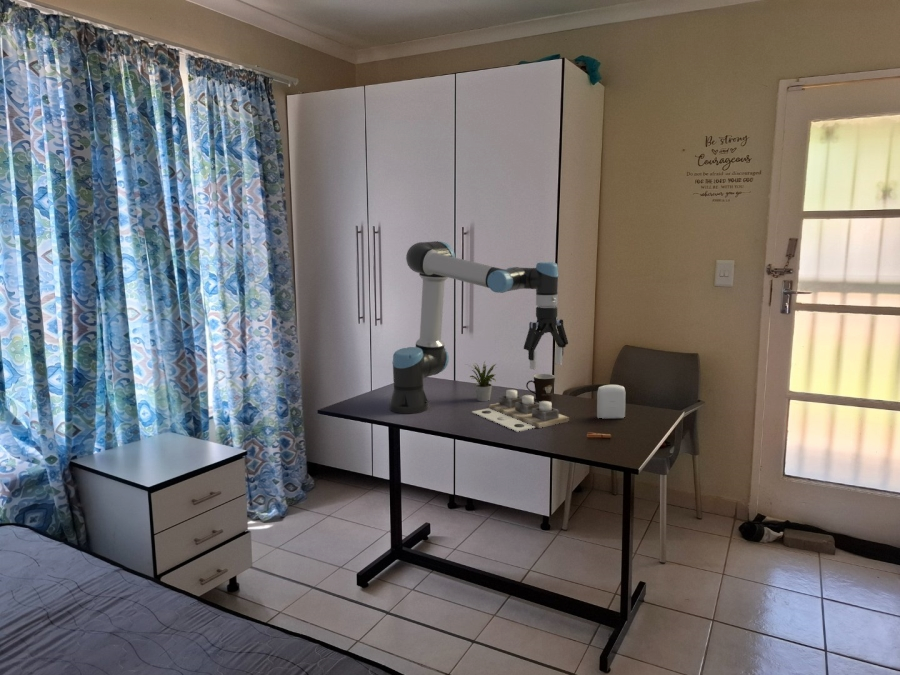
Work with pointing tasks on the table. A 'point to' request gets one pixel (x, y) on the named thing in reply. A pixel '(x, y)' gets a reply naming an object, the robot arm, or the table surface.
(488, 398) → the house plant
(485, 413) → the pattern card
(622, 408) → the photo printer
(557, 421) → the button board
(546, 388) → the coffee mug
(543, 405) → the button
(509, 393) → the button
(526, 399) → the button middle
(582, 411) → the table surface
